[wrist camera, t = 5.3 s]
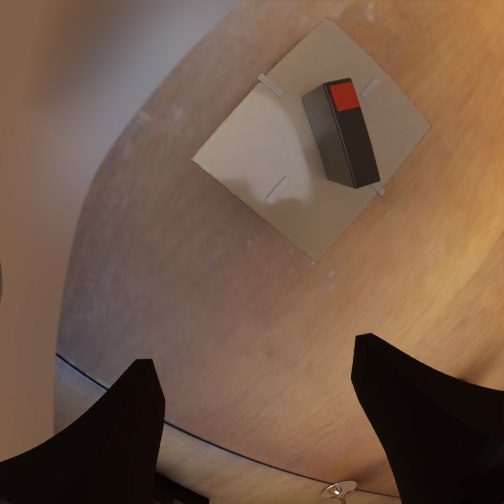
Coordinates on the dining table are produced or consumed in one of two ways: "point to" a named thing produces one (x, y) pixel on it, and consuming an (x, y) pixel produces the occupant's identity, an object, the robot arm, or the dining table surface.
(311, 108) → the black block red patch
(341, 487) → the wineglass
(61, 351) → the dining table surface
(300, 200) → the panel
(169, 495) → the box
